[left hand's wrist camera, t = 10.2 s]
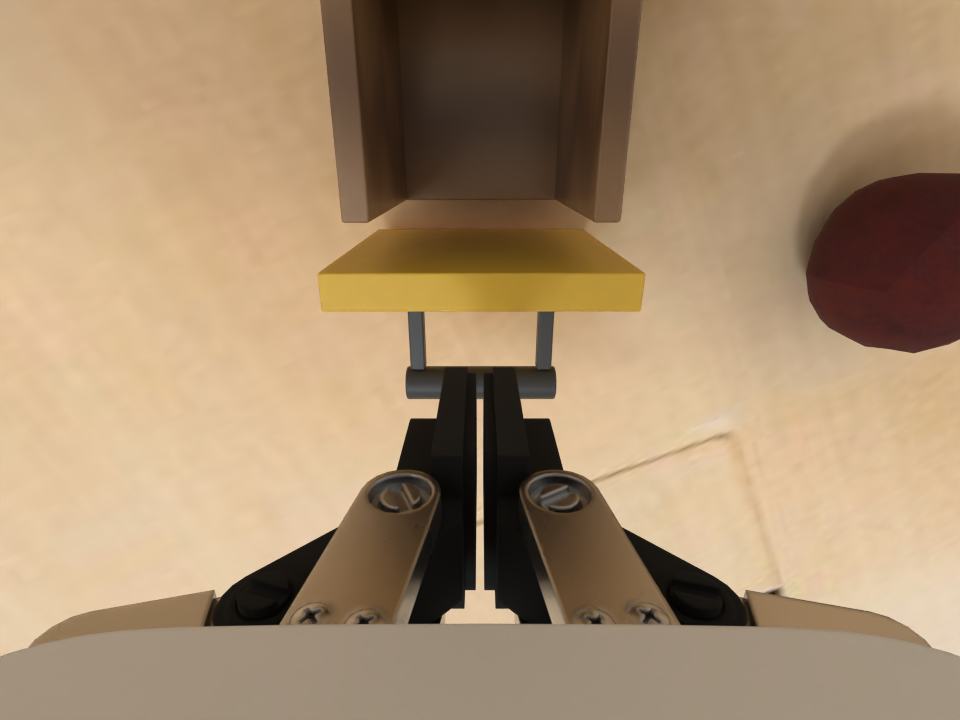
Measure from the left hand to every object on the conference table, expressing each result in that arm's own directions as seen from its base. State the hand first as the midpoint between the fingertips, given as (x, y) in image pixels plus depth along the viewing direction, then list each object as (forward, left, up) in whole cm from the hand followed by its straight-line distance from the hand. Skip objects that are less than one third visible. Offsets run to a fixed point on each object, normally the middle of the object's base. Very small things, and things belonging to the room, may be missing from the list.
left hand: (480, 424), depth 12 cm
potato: (+11, +15, -15) cm, 24 cm away
